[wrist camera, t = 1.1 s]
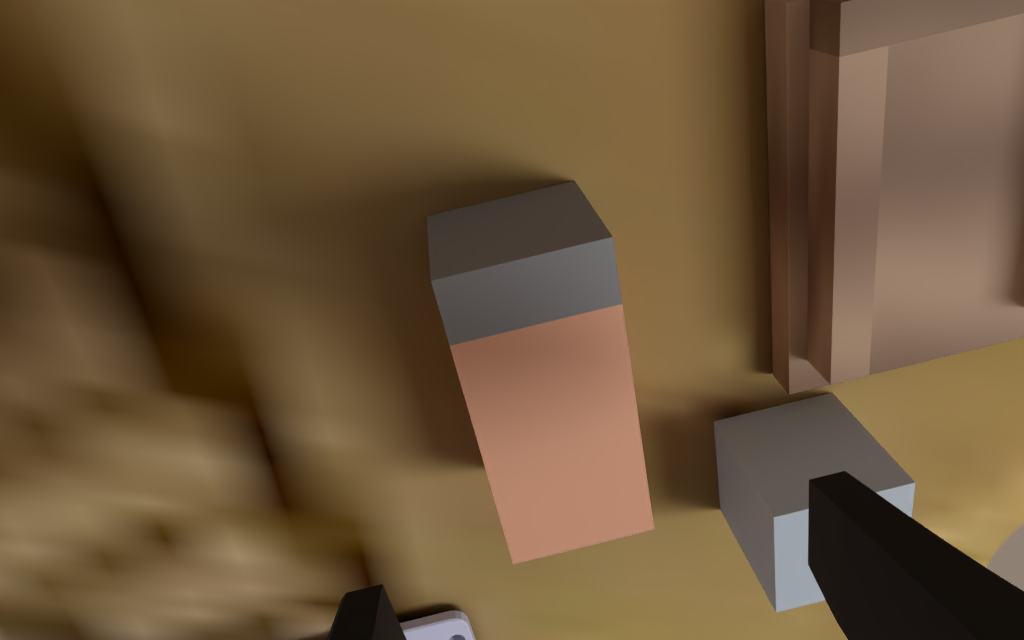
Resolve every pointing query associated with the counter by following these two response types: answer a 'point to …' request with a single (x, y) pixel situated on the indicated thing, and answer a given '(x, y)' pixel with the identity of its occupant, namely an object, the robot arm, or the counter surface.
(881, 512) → the robot arm
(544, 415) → the two-tone peach block
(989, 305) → the jig
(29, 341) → the counter surface
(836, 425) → the pale blue-grey cube
